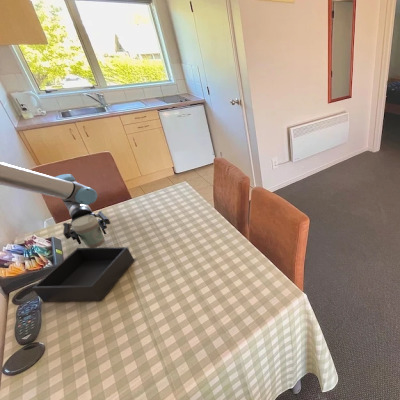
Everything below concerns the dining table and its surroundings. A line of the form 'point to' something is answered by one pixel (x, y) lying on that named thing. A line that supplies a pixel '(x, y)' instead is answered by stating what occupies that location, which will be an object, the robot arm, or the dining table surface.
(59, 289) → the shallow black tray
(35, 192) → the robot arm
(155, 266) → the dining table surface
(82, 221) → the coffee cup
